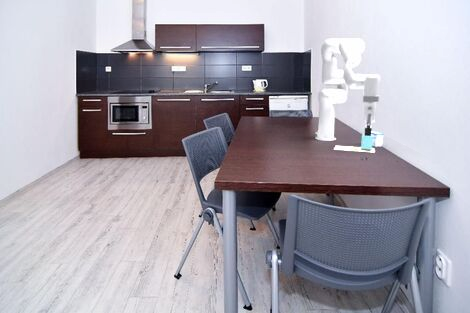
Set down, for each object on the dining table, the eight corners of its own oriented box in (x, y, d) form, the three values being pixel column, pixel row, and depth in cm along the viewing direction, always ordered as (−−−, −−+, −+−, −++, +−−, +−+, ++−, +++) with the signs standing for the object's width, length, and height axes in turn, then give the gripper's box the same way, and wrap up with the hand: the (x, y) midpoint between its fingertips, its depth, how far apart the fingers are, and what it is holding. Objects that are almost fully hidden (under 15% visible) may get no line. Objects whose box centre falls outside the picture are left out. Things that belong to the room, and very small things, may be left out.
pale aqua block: (360, 148, 195) (361, 136, 194) (361, 146, 200) (362, 134, 198) (372, 149, 193) (373, 136, 192) (372, 147, 198) (373, 135, 197)
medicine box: (365, 146, 213) (367, 131, 211) (372, 146, 214) (373, 131, 213) (375, 149, 206) (377, 133, 204) (382, 148, 207) (383, 133, 205)
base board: (333, 152, 197) (333, 149, 196) (335, 148, 208) (335, 145, 207) (374, 155, 190) (374, 152, 190) (374, 150, 201) (374, 148, 201)
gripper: (378, 100, 183) (375, 138, 187) (378, 99, 197) (375, 134, 201) (362, 100, 185) (359, 137, 189) (363, 98, 199) (360, 133, 203)
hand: (367, 135), depth 195 cm, fingers closed
